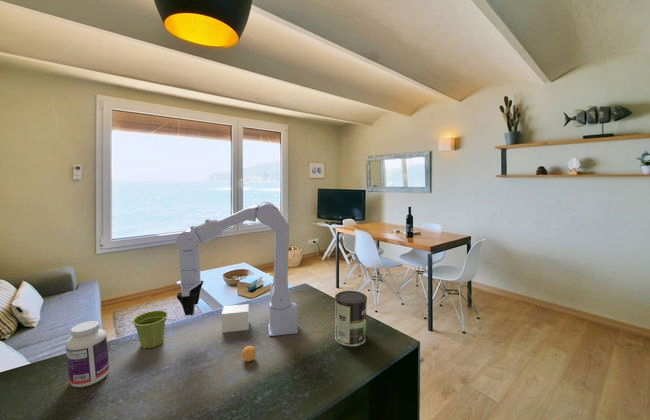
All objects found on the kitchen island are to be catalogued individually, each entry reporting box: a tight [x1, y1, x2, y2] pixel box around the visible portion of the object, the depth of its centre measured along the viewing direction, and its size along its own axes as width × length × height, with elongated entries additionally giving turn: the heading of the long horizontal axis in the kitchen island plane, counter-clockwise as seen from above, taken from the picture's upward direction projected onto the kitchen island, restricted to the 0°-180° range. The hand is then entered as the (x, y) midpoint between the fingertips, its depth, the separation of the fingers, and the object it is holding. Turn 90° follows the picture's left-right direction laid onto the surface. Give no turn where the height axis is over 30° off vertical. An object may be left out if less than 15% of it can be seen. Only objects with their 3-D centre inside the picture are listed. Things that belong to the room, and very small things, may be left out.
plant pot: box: [131, 310, 169, 349], centre depth 90 cm, size 9×9×9 cm
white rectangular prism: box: [221, 303, 250, 333], centre depth 101 cm, size 9×6×7 cm
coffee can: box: [334, 290, 368, 347], centre depth 94 cm, size 10×10×14 cm
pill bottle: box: [65, 320, 110, 388], centre depth 74 cm, size 8×8×14 cm
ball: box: [241, 345, 257, 362], centre depth 83 cm, size 4×4×4 cm
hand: (191, 309), depth 92 cm, fingers open, 7 cm apart
